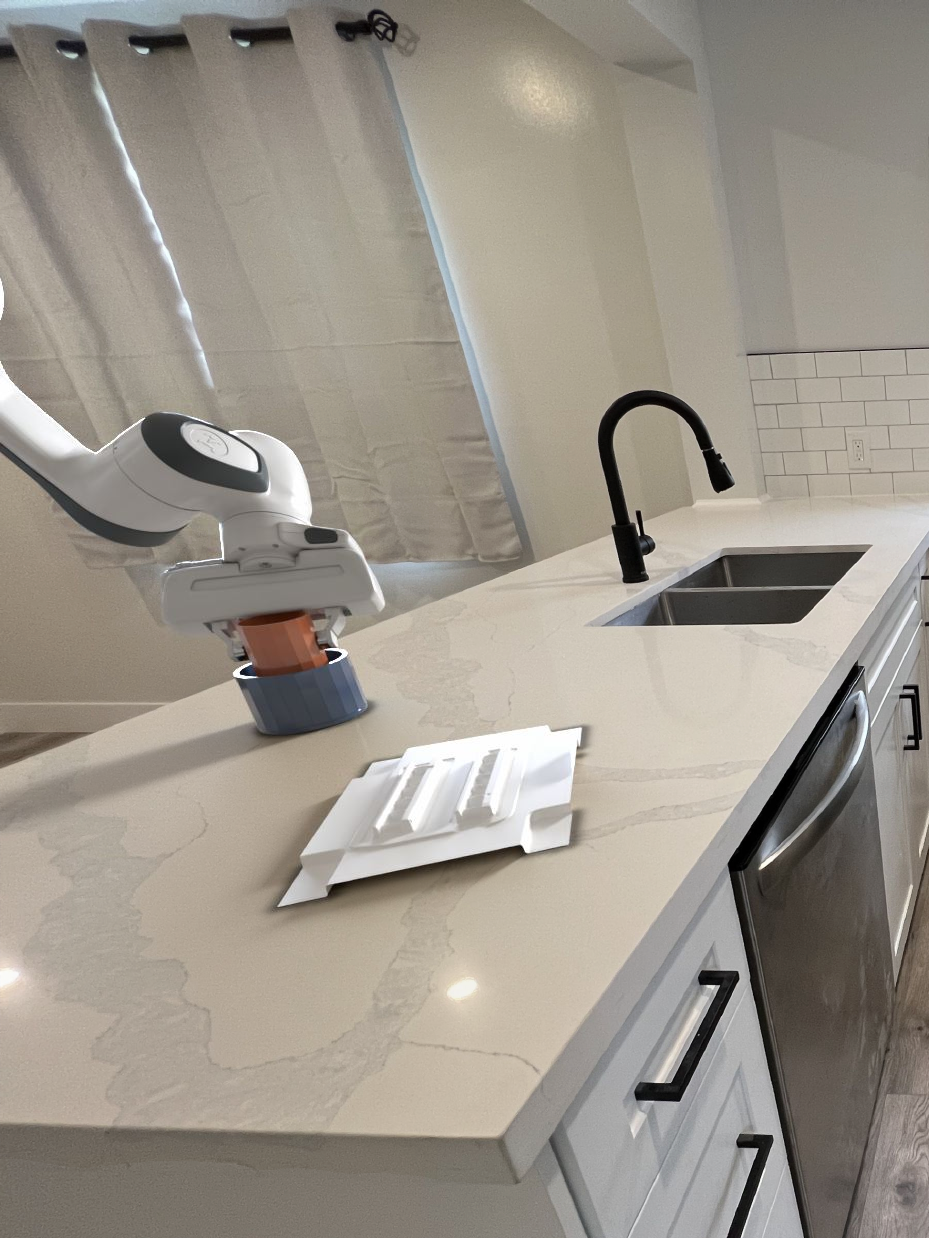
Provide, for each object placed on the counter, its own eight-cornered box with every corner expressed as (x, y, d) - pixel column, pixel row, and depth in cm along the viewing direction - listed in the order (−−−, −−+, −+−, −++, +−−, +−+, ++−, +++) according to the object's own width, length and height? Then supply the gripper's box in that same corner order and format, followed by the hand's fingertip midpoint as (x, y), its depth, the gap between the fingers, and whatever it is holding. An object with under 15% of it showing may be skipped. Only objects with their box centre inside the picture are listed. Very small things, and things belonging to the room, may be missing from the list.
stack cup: (239, 727, 94) (213, 672, 91) (335, 696, 103) (314, 645, 100) (291, 740, 90) (265, 682, 87) (387, 706, 99) (366, 653, 96)
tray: (276, 908, 61) (256, 866, 59) (373, 772, 85) (361, 739, 83) (571, 844, 68) (559, 805, 66) (584, 735, 92) (576, 705, 90)
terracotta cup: (254, 697, 94) (221, 623, 90) (317, 678, 99) (288, 608, 96) (287, 704, 91) (254, 629, 88) (349, 685, 97) (321, 613, 93)
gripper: (143, 549, 89) (151, 655, 86) (362, 529, 98) (378, 625, 94) (175, 581, 95) (184, 682, 91) (380, 559, 103) (396, 650, 100)
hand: (285, 652), depth 93 cm, fingers closed on terracotta cup, 7 cm apart
